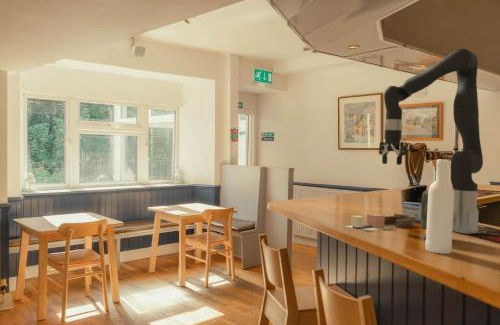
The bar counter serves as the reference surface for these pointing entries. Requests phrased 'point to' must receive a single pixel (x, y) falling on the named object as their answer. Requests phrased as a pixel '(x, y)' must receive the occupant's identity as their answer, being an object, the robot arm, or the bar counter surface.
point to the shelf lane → (394, 222)
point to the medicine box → (412, 210)
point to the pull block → (368, 221)
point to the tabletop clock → (424, 211)
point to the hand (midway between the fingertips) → (391, 164)
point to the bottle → (440, 211)
